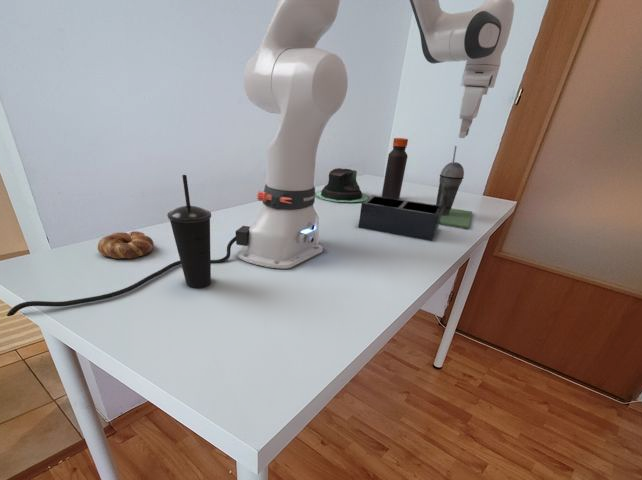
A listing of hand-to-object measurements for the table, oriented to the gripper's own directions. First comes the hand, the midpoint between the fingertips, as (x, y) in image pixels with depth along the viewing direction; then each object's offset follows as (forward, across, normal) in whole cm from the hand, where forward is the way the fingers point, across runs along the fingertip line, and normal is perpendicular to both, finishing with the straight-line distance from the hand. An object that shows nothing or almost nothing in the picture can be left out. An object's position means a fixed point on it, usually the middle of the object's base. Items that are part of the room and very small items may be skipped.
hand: (463, 136), depth 108 cm
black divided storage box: (+24, +22, -10) cm, 34 cm away
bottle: (+24, -14, -21) cm, 35 cm away
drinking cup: (+24, +81, -38) cm, 92 cm away
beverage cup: (+23, 0, 0) cm, 23 cm away
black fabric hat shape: (+24, -6, -38) cm, 45 cm away
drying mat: (+23, 0, 0) cm, 23 cm away
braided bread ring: (+24, +76, -62) cm, 101 cm away
